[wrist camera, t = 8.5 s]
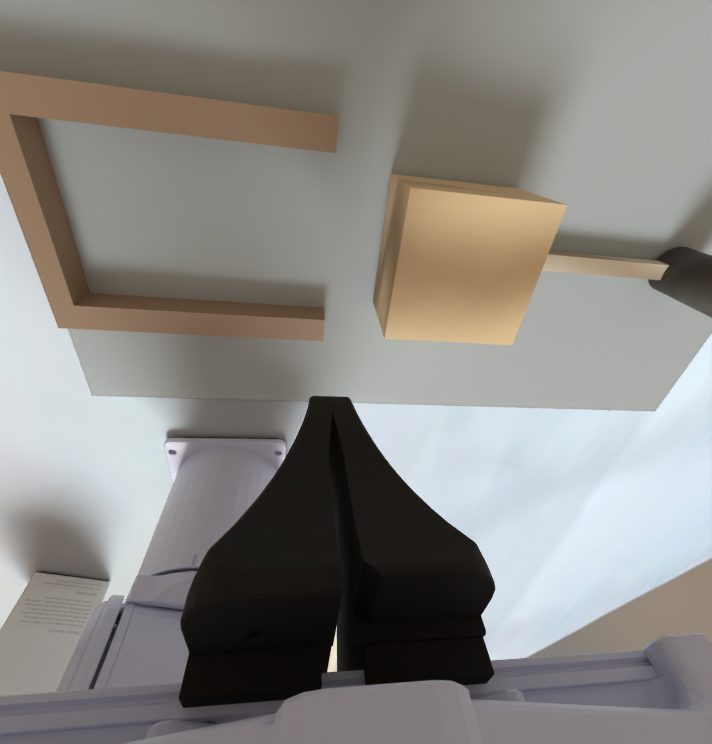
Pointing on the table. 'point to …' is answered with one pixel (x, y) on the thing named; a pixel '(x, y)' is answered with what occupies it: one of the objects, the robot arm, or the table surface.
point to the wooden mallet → (492, 261)
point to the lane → (352, 187)
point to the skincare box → (45, 631)
